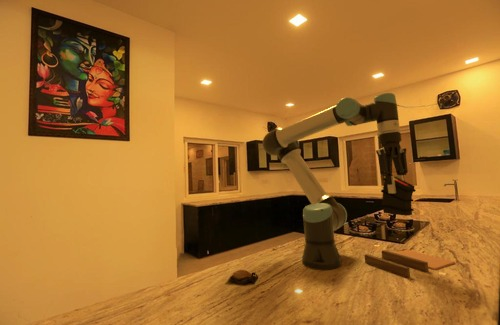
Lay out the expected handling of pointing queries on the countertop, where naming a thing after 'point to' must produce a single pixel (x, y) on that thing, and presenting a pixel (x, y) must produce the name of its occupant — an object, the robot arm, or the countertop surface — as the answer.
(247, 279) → the brown toy turtle
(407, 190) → the magazine
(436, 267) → the mat
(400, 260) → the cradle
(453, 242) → the countertop surface
